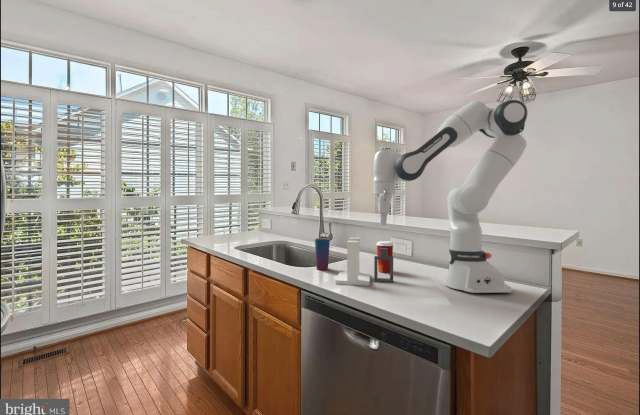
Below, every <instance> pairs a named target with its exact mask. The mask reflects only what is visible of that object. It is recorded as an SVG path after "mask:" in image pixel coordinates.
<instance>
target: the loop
mask: <svg viewBox="0 0 640 415" xmlns="http://www.w3.org/2000/svg"><path fill="white" fill-rule="evenodd" d="M378 260H390V273H389V278H388V277H387V278H386V277H385V278H384V277H378ZM373 263H374V267H373V268H374V270H373V272H374V275H373V276H374V277H373V278H374V279H373V280H374V283H383V284H384V283H385V284H386V283H387V284H389V283H391V284H393V283H394V256H393V255H392V256H388V248H380V256H378V255H374V262H373Z"/></svg>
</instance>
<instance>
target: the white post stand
mask: <svg viewBox="0 0 640 415" xmlns="http://www.w3.org/2000/svg"><path fill="white" fill-rule="evenodd" d="M346 246H347V248H346V249H347V250H346V252H347V254H346V257H347V259H346V260H347V261H346V262H347V265H346V266H347V267H346V268H347V269H346V271H339V272H338V274H337V276H336V279H335V285H345V286H346V285H347V286H370V285H371V284H370V283H371V273H370V272H360V237H349V240H347V245H346Z"/></svg>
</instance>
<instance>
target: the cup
mask: <svg viewBox="0 0 640 415" xmlns="http://www.w3.org/2000/svg"><path fill="white" fill-rule="evenodd" d="M330 242H331V239H330V238H326V237H323V238H322V237H320V238H314V246H315V264H316V270H317V271H321V272H324V271H328V270H329V258H330V245H331V244H330Z"/></svg>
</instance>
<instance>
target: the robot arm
mask: <svg viewBox="0 0 640 415" xmlns="http://www.w3.org/2000/svg"><path fill="white" fill-rule="evenodd" d="M527 118H528V108H527V105H526V104H525V103H524V102H523V101H521V100H519V99H517V100H516V99H509V100H505V101H503V102H501V103H500V104H498V105H496V106H494V108H493V107H492V108H490V107H489V106H487V105H486V103H484V102H482V101H480V100H472V101H471V102H469V103H468V102H467V104H465V105H464V106H462V107H461V108H459V109H458V110H456V111H455V112H453V113H452V114H451V115H449V116H448V117H447V118H446V119H445V120H444V121H443V122H442V124H441V125H440V126H439V127H438V129H437V131H436V133H435V134H434V135H433V136H432V137H431V138H430V139H429V140H427V141H426V142H425V143H423V144H422V145H421V146H419V148H417V149H416V150H413V151H409V152H406V153H403V154H402V153H400V152H398V151H396V150H395V149H394V148H382V149H380V150H378V151H377V152H375V155H374V157H373V166H372V168H373V169H372V171H373V173H372V174H373V181H372V194H374V195H375V198H376V201H377V209H378V213H379V214H380V223H381V226H386V225H387V220H388V214H389V213H390V208H391V207H390V206H391V205H390V204H391V202H390V200H391V199H392V198H393V195H396V181H401V182H405V183H406V182H407V183H408V182H411V181H415V180H417V179H419V177H421V175H422V174H423V172H424V171H425V168H426V167H427V165H428V164H429V163H430V162H431V161H432V160H433V159H435V158H436V157H437V156H439V155H440V154H441V153H442V152H444V151H446V150H447V149H449V148H452V147H454V148H455V147H457V146H459V145H460V144H462V143H464V142H465V141H467V140H469V139H470V138H471V137H472V136H474V134H476V133H477V132H481V133H482V134H483V135H484V136H486V137H488V138H490V139H493V143H492V144H491V145H490V147H489V148H488V149H487V150H486V151H485V152H484V154H482V157H481V158H480V159H479V160H478V161H477V162H476V163H475V165H474V166H473V167H472V169H471V171H470V173H469V174H468V175H467V177H466V179H465V180H464V182H463V183H462V184H461V185H460V186H456V187H454V188H453V189H452V190H450V191H449V193H448V194H447V197H446V203H447V213H448V221H449V228H450V229H449V231H450V233H449V235H450V238H449V239H450V240H449V241H450V242H449V243H450V245H449V250H448V263H449V268H448V275H447V278H446V282H445V285H446V286H447V287H448V288H451V289H454V290H459V291H464V292H468V293H471V294H473V293H474V294H475V293H477V294H481V293H484V294H486V293H488V294H489V293H490V294H491V293H511V292H512V286H510V285H508V284H506V283H505V278H504V274H503V272H502V271H501V270H500V269H498V268H497V267H495V266H494V265H493V264H492V263H490V262H489V261H488V259H491V258H492V254H491V252H490V253H489V252H485V251H484V250H483V249H482V247H483V245H482V243H483V242H482V241H483V240H482V238H483V237H482V236H483V235H482V234H483V233H482V232H483V230H482V227H481V224H480V220H479V213H481V212H482V211H483V210H485V209H486V207H488V206H489V202H490V200H491V199H492V197H493V195H494V193H495V191H497V188H498V187H499V185H500V184H501V182H502V181H503V180H504V179H505V178H506V176H507V175H508V174H509V172H510V171H511V170H512V169H513V168H514V167H515V165H517V163H518V161H519V160H520V159H521V157H522V155H523V153H525V150H526V148H527V141H526V138H524V136H523V135H522V134H520V133H522V132H524V130H525V125H526V121H527Z"/></svg>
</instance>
